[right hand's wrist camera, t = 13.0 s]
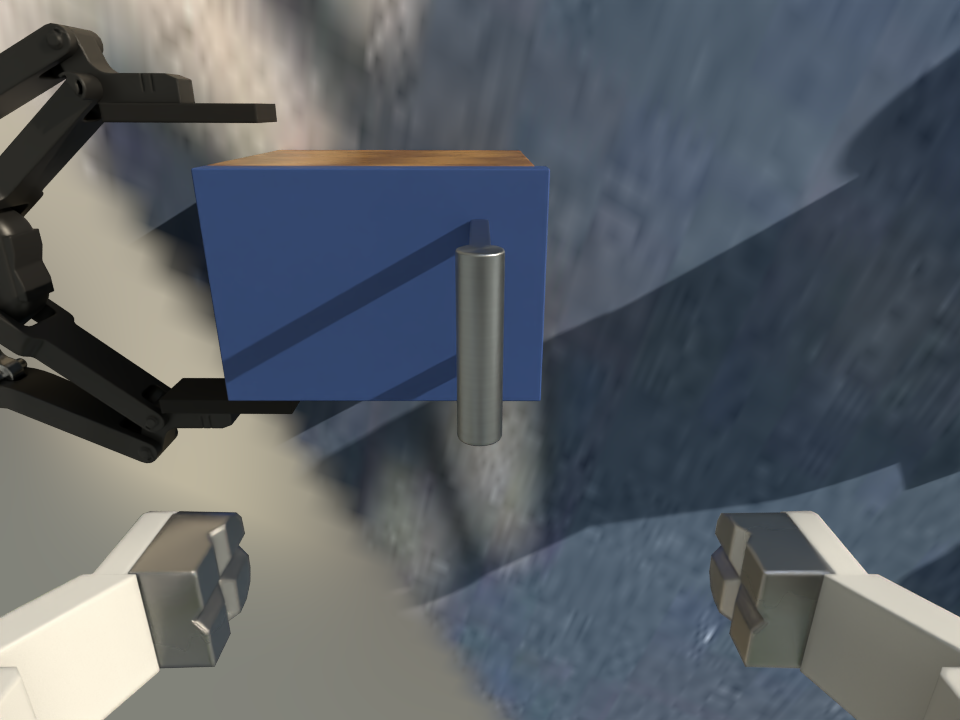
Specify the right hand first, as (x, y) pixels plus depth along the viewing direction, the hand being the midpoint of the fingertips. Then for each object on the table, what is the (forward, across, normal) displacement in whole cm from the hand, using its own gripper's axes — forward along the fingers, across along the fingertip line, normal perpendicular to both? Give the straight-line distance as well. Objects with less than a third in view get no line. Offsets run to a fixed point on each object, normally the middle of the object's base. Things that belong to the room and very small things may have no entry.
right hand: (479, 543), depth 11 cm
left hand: (+21, +9, 0) cm, 23 cm away
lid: (+17, +4, 0) cm, 17 cm away
